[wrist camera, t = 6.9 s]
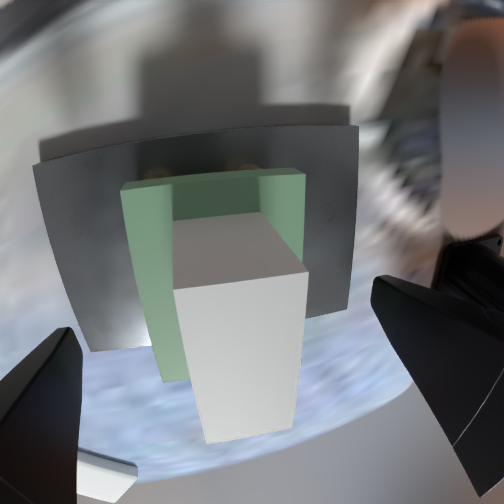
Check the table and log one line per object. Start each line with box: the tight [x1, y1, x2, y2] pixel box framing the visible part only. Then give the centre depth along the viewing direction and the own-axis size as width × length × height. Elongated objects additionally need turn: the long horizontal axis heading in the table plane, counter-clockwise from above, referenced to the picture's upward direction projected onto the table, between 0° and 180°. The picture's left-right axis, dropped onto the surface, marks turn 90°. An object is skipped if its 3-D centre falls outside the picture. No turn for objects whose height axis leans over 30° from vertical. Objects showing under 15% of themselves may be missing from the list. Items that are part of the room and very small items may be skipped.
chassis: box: [32, 125, 359, 352], centre depth 12 cm, size 13×9×3 cm
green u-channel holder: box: [120, 168, 309, 444], centre depth 9 cm, size 5×7×4 cm
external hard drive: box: [77, 451, 138, 503], centre depth 18 cm, size 2×8×12 cm
